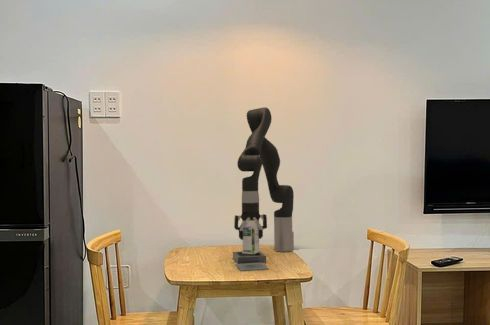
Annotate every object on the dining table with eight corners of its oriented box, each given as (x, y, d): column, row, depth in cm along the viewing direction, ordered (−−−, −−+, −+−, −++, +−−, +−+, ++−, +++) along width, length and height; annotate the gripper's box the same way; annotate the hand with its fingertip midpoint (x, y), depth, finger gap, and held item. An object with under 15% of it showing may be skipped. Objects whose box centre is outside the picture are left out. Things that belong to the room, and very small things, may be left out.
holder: (259, 256, 233) (259, 250, 233) (266, 262, 221) (266, 255, 221) (232, 258, 231) (232, 252, 231) (237, 264, 218) (237, 257, 218)
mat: (261, 263, 219) (261, 262, 219) (268, 269, 207) (268, 268, 207) (235, 265, 216) (235, 264, 216) (240, 271, 205) (240, 270, 205)
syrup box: (241, 253, 210) (241, 219, 210) (248, 251, 216) (247, 218, 215) (253, 254, 208) (253, 220, 208) (259, 252, 213) (259, 218, 213)
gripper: (264, 200, 217) (264, 236, 217) (232, 201, 214) (233, 238, 214) (268, 201, 209) (268, 239, 209) (235, 202, 206) (236, 241, 207)
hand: (250, 238), depth 212 cm, fingers closed on syrup box, 8 cm apart
